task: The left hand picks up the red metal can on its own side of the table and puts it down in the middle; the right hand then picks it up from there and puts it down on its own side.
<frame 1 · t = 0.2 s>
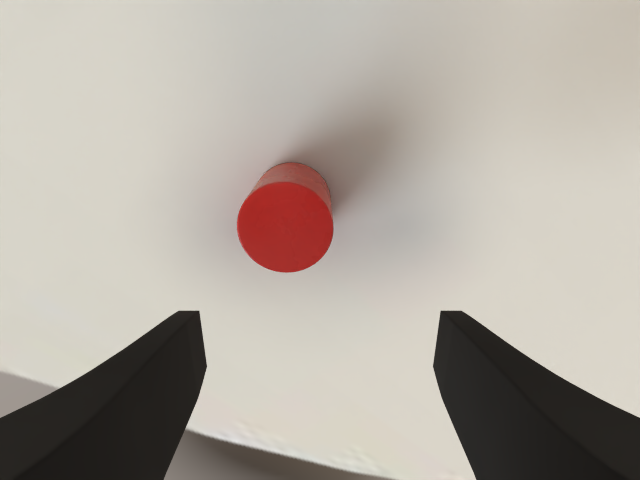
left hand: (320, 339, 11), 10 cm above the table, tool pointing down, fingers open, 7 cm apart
can: (292, 200, 20), on the table
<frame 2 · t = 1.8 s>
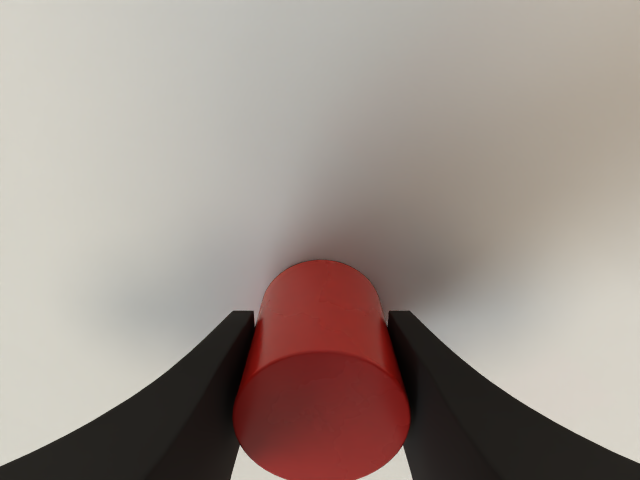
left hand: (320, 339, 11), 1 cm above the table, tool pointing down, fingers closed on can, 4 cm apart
can: (321, 313, 13), on the table, touching left hand
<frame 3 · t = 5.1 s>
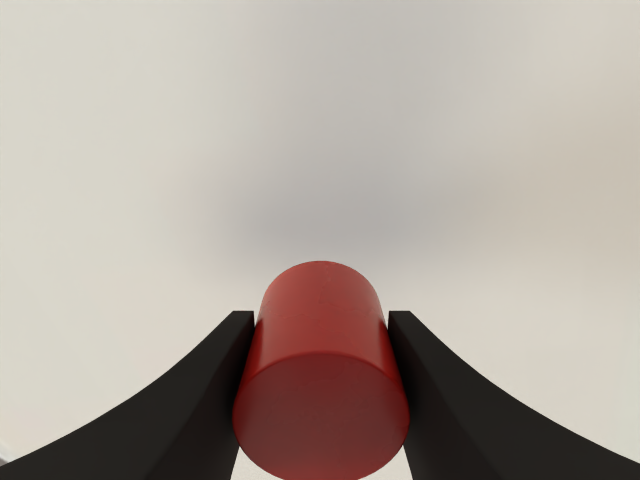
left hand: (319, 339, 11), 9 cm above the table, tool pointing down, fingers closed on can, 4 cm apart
can: (320, 314, 13), point 8 cm above the table, touching left hand
when the left hand's fingers open (2 cm above the table, at t = 8.4 s): can drops 1 cm, on the table.
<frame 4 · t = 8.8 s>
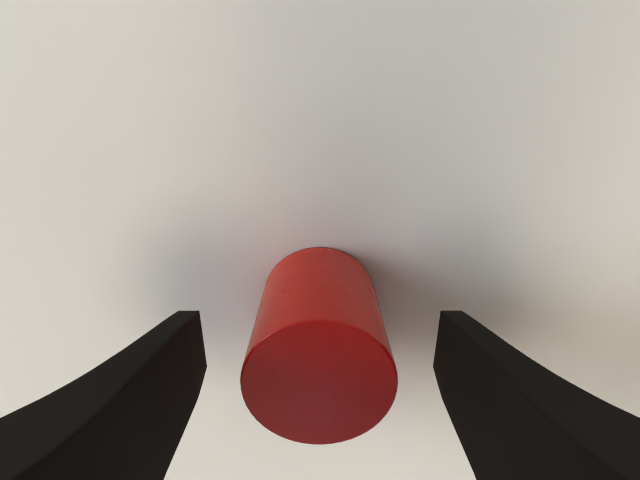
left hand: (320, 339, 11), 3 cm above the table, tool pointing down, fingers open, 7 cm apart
can: (319, 297, 14), on the table
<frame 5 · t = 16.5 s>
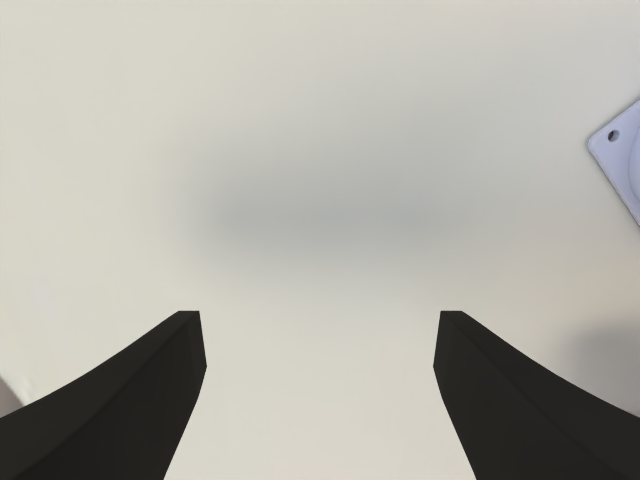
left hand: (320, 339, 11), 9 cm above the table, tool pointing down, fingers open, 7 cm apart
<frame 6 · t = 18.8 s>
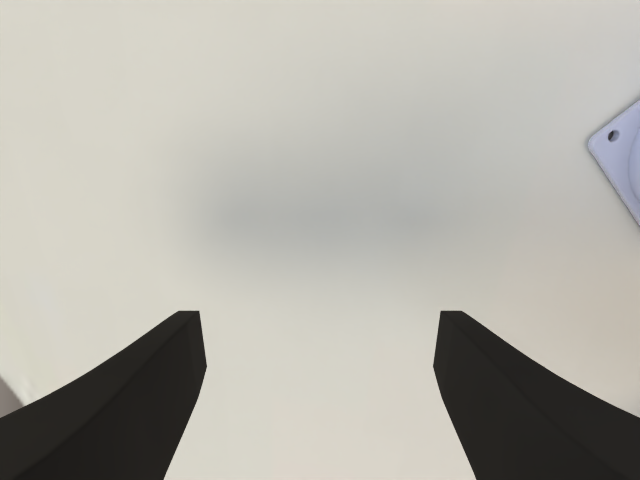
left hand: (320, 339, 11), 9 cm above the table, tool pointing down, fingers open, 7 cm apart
when the right hand's fingers open (3 cm above the table, at t = 21.6 s): can drops 1 cm, on the table.
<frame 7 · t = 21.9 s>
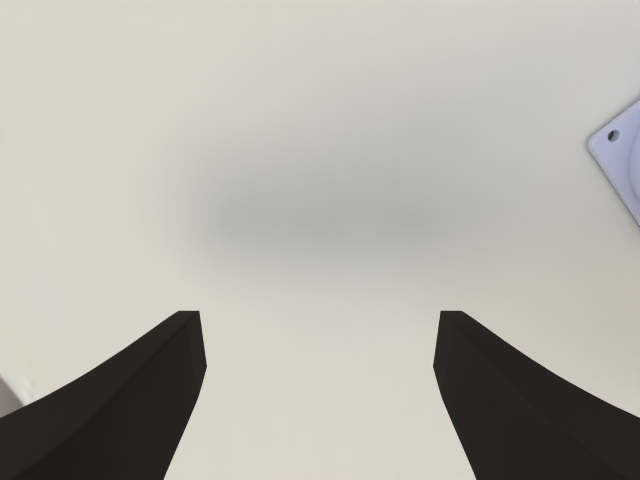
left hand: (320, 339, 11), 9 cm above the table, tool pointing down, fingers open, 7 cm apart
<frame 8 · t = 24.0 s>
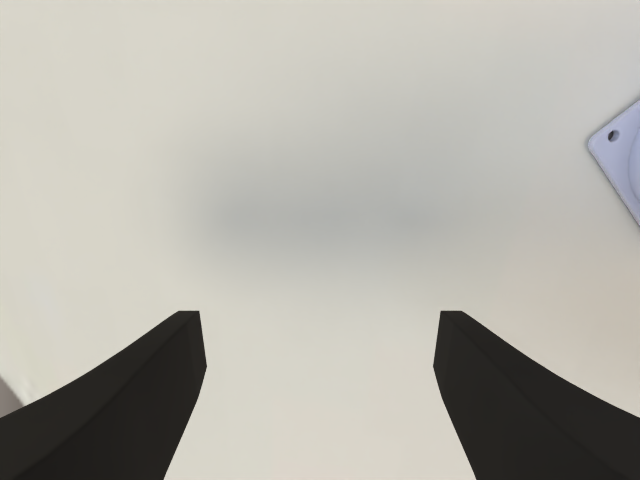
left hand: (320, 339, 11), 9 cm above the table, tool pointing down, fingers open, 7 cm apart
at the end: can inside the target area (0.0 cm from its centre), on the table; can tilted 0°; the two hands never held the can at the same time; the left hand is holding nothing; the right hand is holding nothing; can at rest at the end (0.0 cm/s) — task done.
